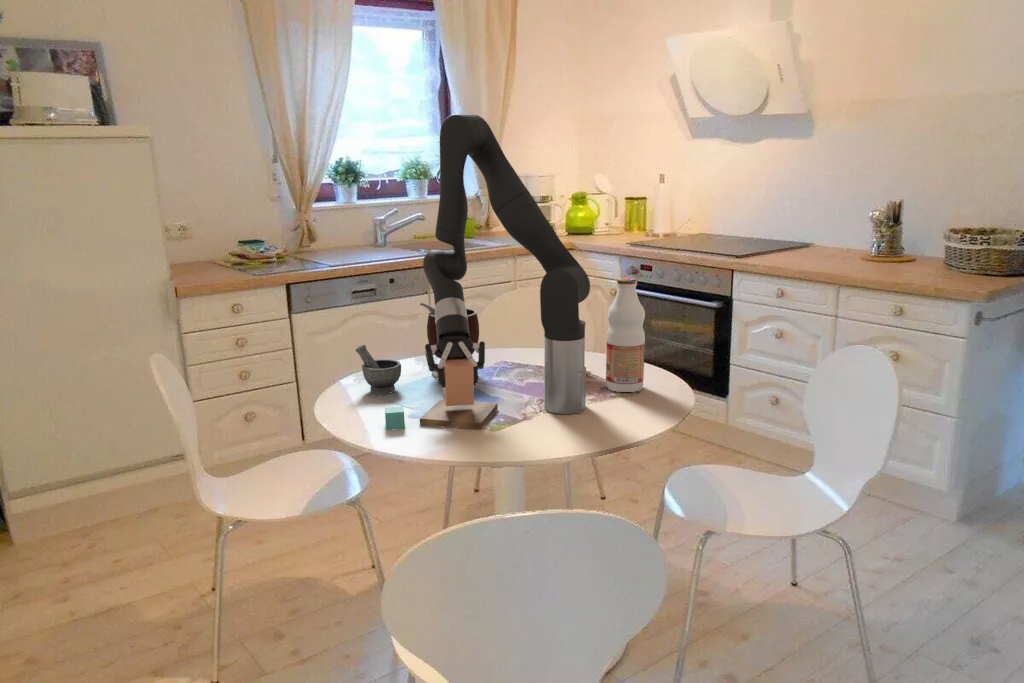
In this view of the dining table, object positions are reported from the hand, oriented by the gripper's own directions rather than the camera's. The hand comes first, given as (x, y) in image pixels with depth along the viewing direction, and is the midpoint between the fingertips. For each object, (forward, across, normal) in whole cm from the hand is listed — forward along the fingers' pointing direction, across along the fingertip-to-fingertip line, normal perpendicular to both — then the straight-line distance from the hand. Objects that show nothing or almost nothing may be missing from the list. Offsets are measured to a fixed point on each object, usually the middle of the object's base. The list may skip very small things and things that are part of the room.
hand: (459, 384), depth 172 cm
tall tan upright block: (+2, 0, +4) cm, 5 cm away
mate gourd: (-20, +2, +32) cm, 38 cm away
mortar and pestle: (-12, -17, +24) cm, 32 cm away
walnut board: (+5, 0, +7) cm, 8 cm away
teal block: (+7, -14, +5) cm, 17 cm away
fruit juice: (-4, +44, +16) cm, 47 cm away
